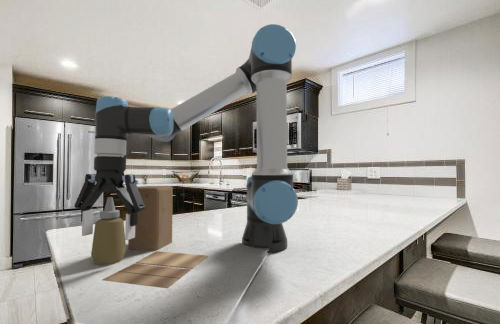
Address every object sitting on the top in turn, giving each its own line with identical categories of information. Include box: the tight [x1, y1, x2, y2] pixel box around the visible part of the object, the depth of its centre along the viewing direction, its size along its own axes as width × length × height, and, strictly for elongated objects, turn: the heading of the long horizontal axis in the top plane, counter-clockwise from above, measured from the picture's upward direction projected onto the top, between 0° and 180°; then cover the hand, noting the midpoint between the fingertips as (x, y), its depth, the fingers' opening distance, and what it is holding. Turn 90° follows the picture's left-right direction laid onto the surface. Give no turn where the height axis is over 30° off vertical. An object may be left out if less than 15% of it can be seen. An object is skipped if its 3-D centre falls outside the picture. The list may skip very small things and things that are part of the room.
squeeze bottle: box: [90, 196, 127, 266], centre depth 68 cm, size 8×8×18 cm
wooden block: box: [127, 185, 174, 252], centre depth 82 cm, size 10×10×20 cm
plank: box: [135, 250, 209, 270], centre depth 68 cm, size 16×9×2 cm, turn 76°
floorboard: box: [102, 263, 192, 289], centre depth 58 cm, size 16×10×2 cm, turn 76°
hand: (108, 236), depth 68 cm, fingers open, 13 cm apart
